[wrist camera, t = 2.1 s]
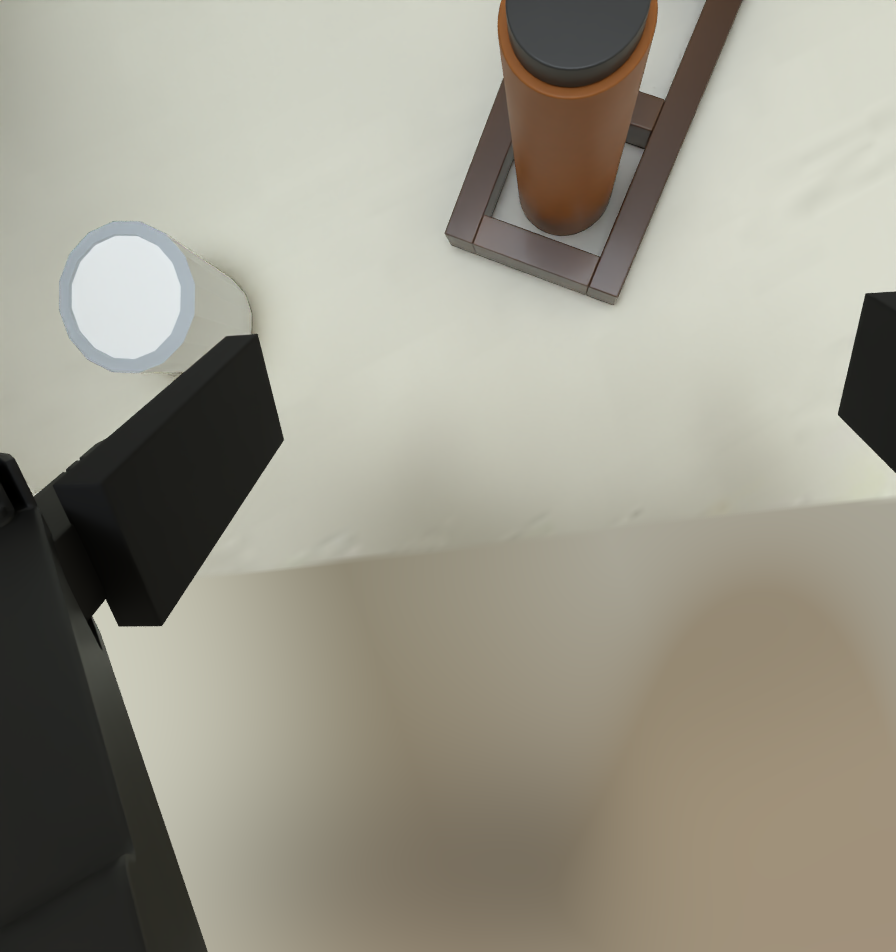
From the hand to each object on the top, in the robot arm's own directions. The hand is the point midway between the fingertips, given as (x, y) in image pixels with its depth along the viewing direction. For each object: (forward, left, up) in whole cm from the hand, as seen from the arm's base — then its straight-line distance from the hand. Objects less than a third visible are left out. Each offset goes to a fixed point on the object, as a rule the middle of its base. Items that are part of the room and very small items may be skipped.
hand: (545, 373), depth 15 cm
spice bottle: (-3, +10, -19) cm, 22 cm away
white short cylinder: (-19, -3, -20) cm, 28 cm away
